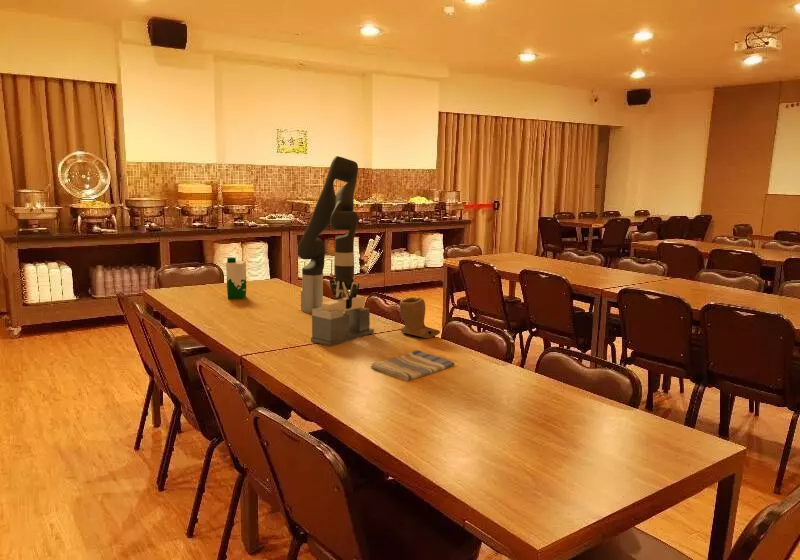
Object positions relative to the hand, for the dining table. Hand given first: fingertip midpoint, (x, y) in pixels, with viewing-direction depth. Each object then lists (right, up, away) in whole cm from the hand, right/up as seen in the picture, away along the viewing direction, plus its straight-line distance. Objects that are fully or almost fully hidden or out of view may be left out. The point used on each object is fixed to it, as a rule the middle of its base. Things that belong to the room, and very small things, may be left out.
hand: (344, 307), depth 235 cm
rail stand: (-1, -12, +2) cm, 12 cm away
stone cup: (+28, -12, +6) cm, 31 cm away
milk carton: (-60, +1, +68) cm, 90 cm away
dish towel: (+26, -19, -33) cm, 46 cm away
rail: (0, -1, 0) cm, 1 cm away
